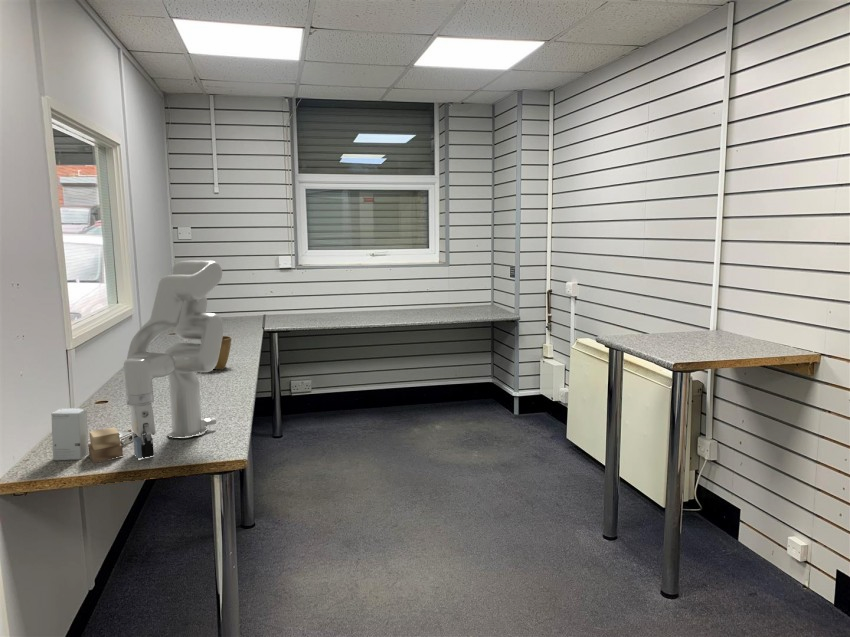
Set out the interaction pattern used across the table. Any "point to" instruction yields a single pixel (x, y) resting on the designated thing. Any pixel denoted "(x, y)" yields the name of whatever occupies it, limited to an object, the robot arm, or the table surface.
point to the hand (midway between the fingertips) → (144, 451)
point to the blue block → (138, 446)
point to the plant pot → (224, 352)
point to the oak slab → (104, 438)
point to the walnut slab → (105, 453)
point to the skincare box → (69, 434)
